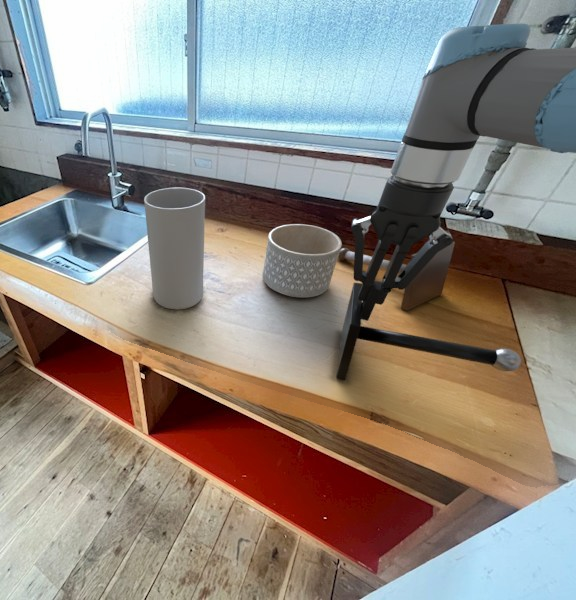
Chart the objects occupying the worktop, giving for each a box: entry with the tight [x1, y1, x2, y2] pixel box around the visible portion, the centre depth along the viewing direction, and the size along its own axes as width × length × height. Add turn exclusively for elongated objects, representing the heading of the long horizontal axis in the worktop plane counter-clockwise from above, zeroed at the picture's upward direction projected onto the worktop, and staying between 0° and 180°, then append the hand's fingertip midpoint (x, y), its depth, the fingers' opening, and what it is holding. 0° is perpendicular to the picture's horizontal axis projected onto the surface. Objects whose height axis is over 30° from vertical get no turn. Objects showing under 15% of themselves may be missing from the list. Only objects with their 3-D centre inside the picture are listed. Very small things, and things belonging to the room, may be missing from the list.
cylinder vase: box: [143, 187, 206, 310], centre depth 73 cm, size 12×12×25 cm
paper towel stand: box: [337, 241, 456, 312], centre depth 80 cm, size 25×13×13 cm, turn 27°
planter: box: [262, 223, 343, 298], centre depth 80 cm, size 16×16×13 cm
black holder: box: [335, 282, 522, 381], centre depth 54 cm, size 25×13×13 cm, turn 63°
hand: (363, 315), depth 57 cm, fingers closed
